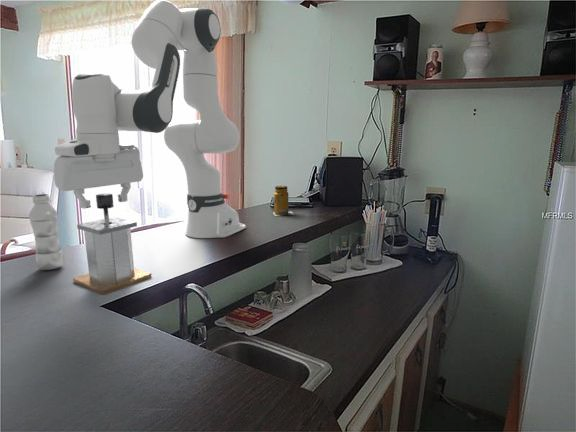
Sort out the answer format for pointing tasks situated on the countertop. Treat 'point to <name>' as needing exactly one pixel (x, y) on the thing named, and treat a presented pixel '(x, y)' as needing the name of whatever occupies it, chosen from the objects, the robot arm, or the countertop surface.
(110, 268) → the white box on plank
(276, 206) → the condiment
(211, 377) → the countertop surface
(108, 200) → the plunger
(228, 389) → the countertop surface
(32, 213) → the plastic bottle
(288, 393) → the countertop surface
